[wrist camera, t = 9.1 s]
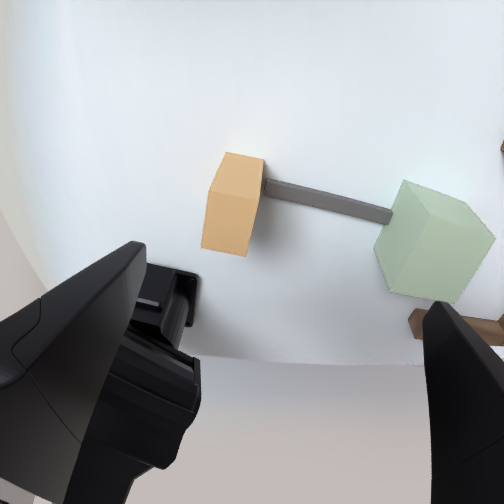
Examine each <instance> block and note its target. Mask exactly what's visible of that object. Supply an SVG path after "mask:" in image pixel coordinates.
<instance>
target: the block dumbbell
mask: <svg viewBox="0 0 504 504" xmlns="http://www.w3.org/2000/svg"><path fill="white" fill-rule="evenodd" d="M263 162H264V160H263V159H258V158H253V157H249V156H244V155H239V154H234V153H229V152H226V153H225V155H224V158H223V160H222V162H221V164H220V166H219V169H218V171H217V173H216V175H215V178H214V180H213V182H212V184H211V187H210V189H209V193H208V199H207V206H206V213H205V220H204V227H203V235H202V242H201V248H204V249H209V250H214V251H219V252H224V253H229V254H234V255H239V256H244V257H246V254H247V250H248V245H249V241H250V237H251V233H252V229H253V224H254V220H255V216H256V212H257V208H258V204H259V198H260V189H261V180H262V171H263ZM264 195H265V196H270V197H274V198H279V199H283V200H288V201H292V202H296V203H301V204H305V205H309V206H314V207H318V208H322V209H326V210H330V211H334V212H338V213H342V214H346V215H350V216H354V217H358V218H362V219H366V220H370V221H373V222H377V223H381V224H384V226H383V229H382V231H381V233H380V235H379V237H378V239H377V242H376V244H375V246H374V251H375V254H376V256H377V259H378V261H379V264H380V267H381V270H382V272H383V275H384V278H385V281H386V283H387V286H388V289H389V292H393V293H398V294H403V295H409V296H414V297H420V298H425V299H431V300H436V301H438V300H439V301H445V302H447V303H452V304H455V302H456V301H457V299H458V298H459V296H460V295H461V294H462V292H463V291H464V289H465V288H466V286H467V285H468V283H469V282H470V280H471V279H472V277H473V276H474V274H475V272H476V271H477V269H478V268H479V266H480V264H481V263H482V261H483V260H484V258H485V256H486V255H487V253H488V251H489V250H490V248H491V246H492V245H493V243H494V241H495V239H496V237H495V236H494V235H493V234H492V233H491V231H490V230H489V229H488V228H487V227H486V225H485V224H484V223H483V222H482V221H481V220H480V218H479V217H478V216H477V215H476V214H475V213H474V212H473V211H472V209H471V208H470V207H469V206H468V205H467V204H466V203H465V202H463V201H460V200H458V199H455V198H453V197H450V196H448V195H445V194H442V193H440V192H437V191H434V190H432V189H429V188H426V187H423V186H420V185H418V184H415V183H412V182H409V181H406V180H403V183H402V185H401V188H400V190H399V192H398V195H397V197H396V199H395V202H394V204H393V206H392V209H391V210H390V209H387V208H383V207H380V206H376V205H373V204H369V203H365V202H362V201H358V200H354V199H351V198H347V197H343V196H339V195H335V194H331V193H327V192H323V191H319V190H315V189H311V188H307V187H303V186H299V185H295V184H290V183H286V182H281V181H277V180H273V179H268V178H267V181H266V185H265V189H264Z"/></svg>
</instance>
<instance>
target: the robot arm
mask: <svg viewBox="0 0 504 504" xmlns="http://www.w3.org/2000/svg"><path fill="white" fill-rule="evenodd" d="M191 279H194V280H191ZM197 287H198V276H197V275H196V274H194V273H190V272H185V271H180V270H176V269H171V268H166V267H162V266H157V265H153V264H148V263H146V245H145V244H144V243H141V242H137V241H130V242H128V243H127V244H125V245H123V246H122V247H120V248H118V249H116V250H115V251H113V252H111V253H110V254H108V255H106V256H105V257H103V258H101V259H100V260H98V261H96V262H95V263H93V264H91V265H90V266H88V267H86V268H85V269H83V270H82V271H80V272H78V273H77V274H75V275H74V276H72V277H70V278H69V279H67V280H66V281H64V282H62V283H61V284H59V285H58V286H56V287H55V288H53V289H52V290H50V291H48V292H47V293H45V294H44V295H42V296H41V299H40V298H38V299H36V300H35V301H33V302H32V303H30V304H29V305H27V306H25V307H24V308H22V309H21V310H19V311H18V312H16V313H14V314H13V315H11V316H9V317H8V318H6V319H4V320H3V321H1V322H0V504H33V501H34V498H35V495H37V496H39V497H41V498H43V499H46V500H48V501H51V502H52V504H125V502H126V499H127V496H128V494H129V491H130V489H131V486H132V484H133V482H134V480H135V479H136V478H138V477H139V476H141V475H142V474H144V473H145V472H147V471H148V470H150V469H152V468H153V467H156V468H159V469H162V470H164V469H166V468H167V467H168V466H169V465H170V464H171V463H173V461H174V460H175V459H176V456H177V453H178V449H179V446H180V443H181V440H182V437H183V435H184V433H185V431H186V429H187V428H188V427H189V426H190V425H191V424H192V422H193V421H194V419H195V417H196V415H197V413H198V410H199V407H200V402H201V377H200V376H201V375H200V360H199V359H197V358H195V357H191V356H189V355H187V354H185V353H183V352H181V351H179V350H178V347H179V343H180V340H181V336H182V333H183V329H184V326H185V327H192V325H193V322H194V313H195V304H196V296H197ZM422 333H423V350H424V367H425V376H426V384H427V394H428V404H429V417H430V433H431V462H432V480H431V504H504V362H503V361H502V359H501V358H500V357H499V356H498V355H497V354H496V353H495V352H494V350H493V349H492V348H491V347H490V346H489V345H488V344H487V343H486V342H485V341H484V340H483V339H482V337H481V336H480V335H479V334H478V333H477V332H476V331H475V330H474V329H473V328H472V327H471V326H470V325H469V324H468V323H467V322H466V321H465V320H464V319H463V318H462V317H461V316H460V315H459V314H458V313H457V312H456V311H455V310H454V309H453V308H452V307H451V306H450V305H449V304H448V303H447V302H445V301H439V300H438V301H435V302H434V303H433V304H432V306H431V307H430V309H429V310H428V312H427V313H426V314H425V316H424V317H423V320H422Z"/></svg>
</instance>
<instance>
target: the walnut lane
mask: <svg viewBox="0 0 504 504" xmlns="http://www.w3.org/2000/svg"><path fill="white" fill-rule="evenodd" d="M501 150H503V151H504V141H503V144H502V147H501ZM427 312H428V310H422V309H416V308H415V310H414V311H413V313H412V314H411V316H410V317H409V319H408V320H409V323H410V326H411V329H412V332H413V335H414V338H415V339H421V340H423V333H422V320H423V317H424V316H425V314H426V313H427ZM461 317H462V318H463V319H464V320H465V321H466V322H467V323H468V324H469V325H470V326H471V327H472V328H473V329H474V330H475V331H476V332H477V333H478V334H479V335H480V336H481V337H482V339H483V340H484V341H485V342H486V343H487V344H488V345H490V346H504V314H503V316H502V317H501V318H500V320H499V321H493V320H486V319H480V318H473V317H466V316H461Z"/></svg>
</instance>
